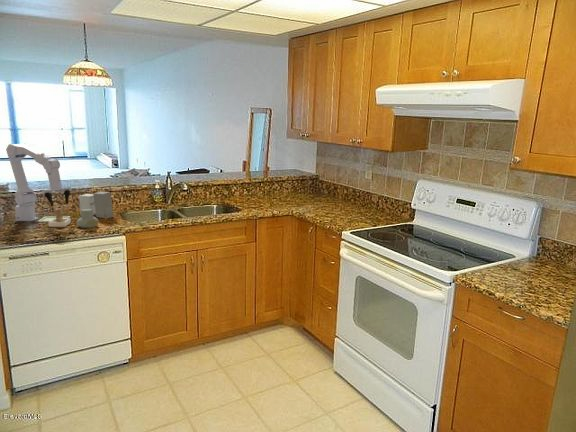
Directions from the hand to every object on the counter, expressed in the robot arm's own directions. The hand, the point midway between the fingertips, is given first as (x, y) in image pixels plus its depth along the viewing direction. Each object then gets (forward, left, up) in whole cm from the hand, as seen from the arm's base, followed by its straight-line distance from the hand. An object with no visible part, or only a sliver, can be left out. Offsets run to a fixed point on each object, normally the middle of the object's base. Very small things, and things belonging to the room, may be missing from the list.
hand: (60, 205), depth 238 cm
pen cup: (-1, -1, -12) cm, 12 cm away
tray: (-8, +11, -12) cm, 17 cm away
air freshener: (+15, -5, -12) cm, 20 cm away
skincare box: (+19, +18, -12) cm, 28 cm away
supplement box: (+7, +26, -12) cm, 29 cm away
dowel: (0, -1, -11) cm, 11 cm away
